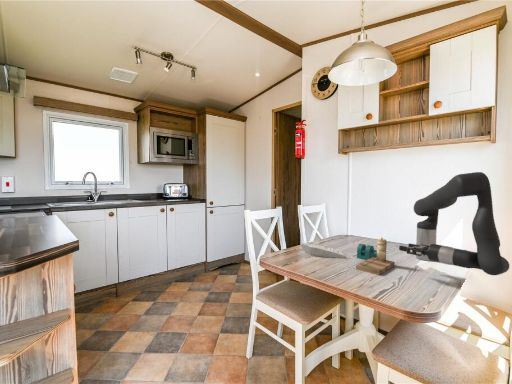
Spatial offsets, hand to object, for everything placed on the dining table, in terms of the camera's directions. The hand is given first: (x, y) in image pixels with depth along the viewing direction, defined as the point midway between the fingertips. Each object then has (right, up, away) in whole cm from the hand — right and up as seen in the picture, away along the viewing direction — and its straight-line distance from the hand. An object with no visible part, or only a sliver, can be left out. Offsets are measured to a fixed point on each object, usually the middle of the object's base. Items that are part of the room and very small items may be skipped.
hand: (404, 246), depth 122 cm
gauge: (-6, -9, +10) cm, 15 cm away
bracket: (-6, -11, +25) cm, 28 cm away
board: (-11, -12, +6) cm, 17 cm away
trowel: (-32, -11, +29) cm, 45 cm away
